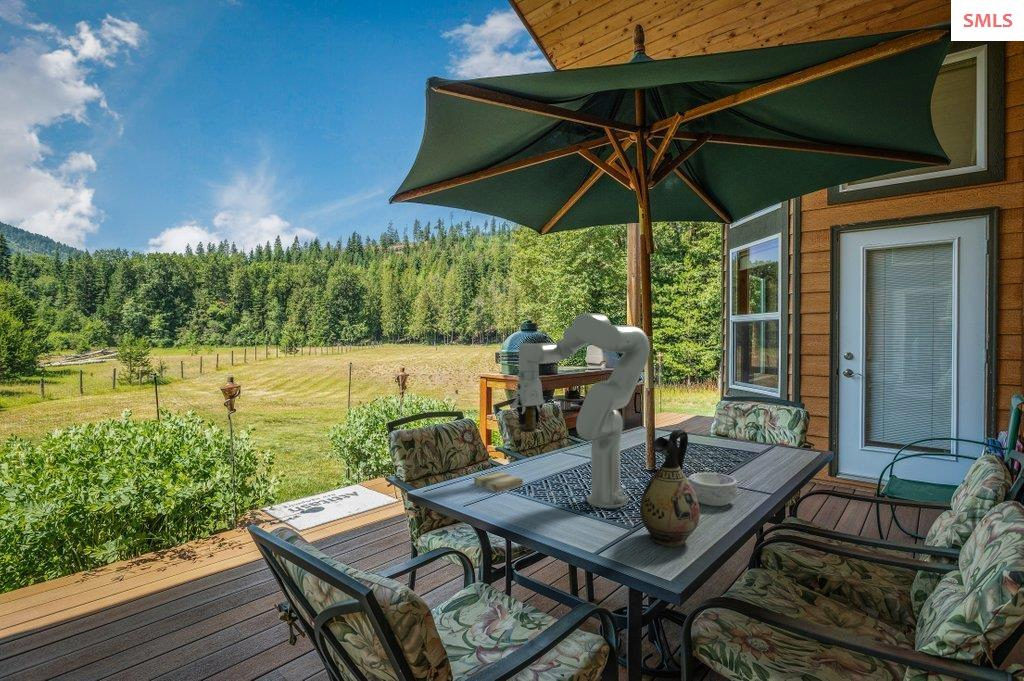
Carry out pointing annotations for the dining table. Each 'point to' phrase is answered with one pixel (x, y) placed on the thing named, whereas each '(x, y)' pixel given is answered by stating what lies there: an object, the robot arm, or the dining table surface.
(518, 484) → the board
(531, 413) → the condiment
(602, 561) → the dining table surface
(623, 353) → the robot arm
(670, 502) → the ceramic jug
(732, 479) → the white marble bowl
